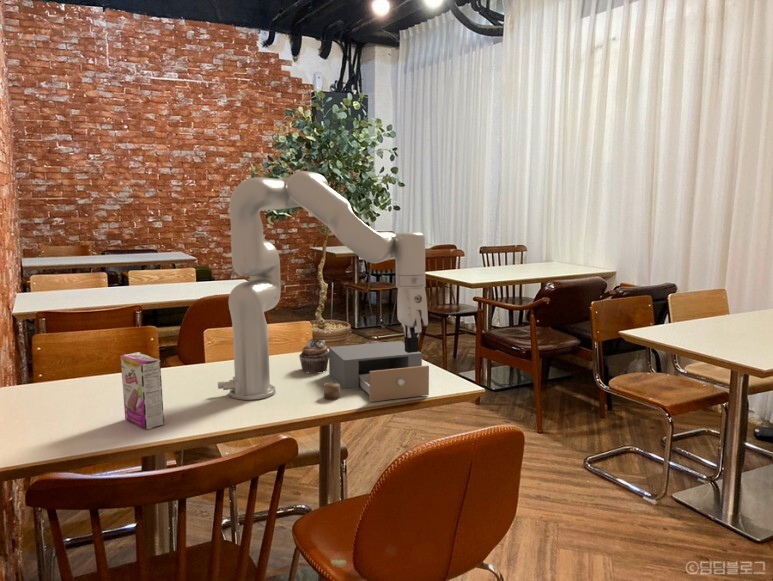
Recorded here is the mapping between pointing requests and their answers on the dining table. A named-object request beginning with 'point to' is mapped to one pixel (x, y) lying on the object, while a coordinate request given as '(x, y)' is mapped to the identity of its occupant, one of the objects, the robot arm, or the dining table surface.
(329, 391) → the brown rounded piece
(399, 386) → the brown drawer
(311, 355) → the cupcake
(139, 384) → the candy bar box
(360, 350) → the grey cabinet
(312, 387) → the dining table surface
